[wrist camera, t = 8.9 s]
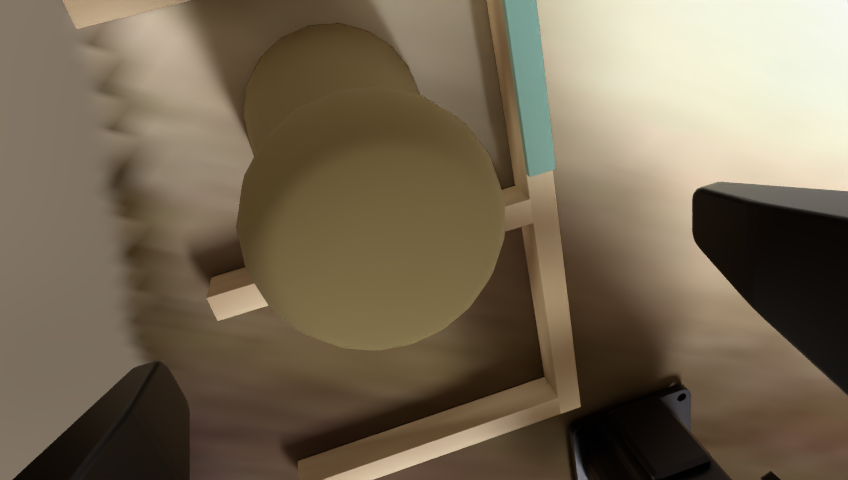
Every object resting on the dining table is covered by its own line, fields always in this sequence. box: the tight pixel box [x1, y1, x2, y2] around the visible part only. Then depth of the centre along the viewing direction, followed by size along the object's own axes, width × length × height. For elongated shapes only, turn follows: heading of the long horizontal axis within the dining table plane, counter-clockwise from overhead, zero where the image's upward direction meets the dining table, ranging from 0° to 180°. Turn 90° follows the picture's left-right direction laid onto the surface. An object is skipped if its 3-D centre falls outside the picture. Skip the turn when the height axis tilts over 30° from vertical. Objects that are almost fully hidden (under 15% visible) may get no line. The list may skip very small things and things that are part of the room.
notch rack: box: [63, 0, 581, 480], centre depth 19 cm, size 31×13×2 cm, turn 13°
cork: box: [236, 23, 505, 351], centre depth 15 cm, size 6×6×11 cm
